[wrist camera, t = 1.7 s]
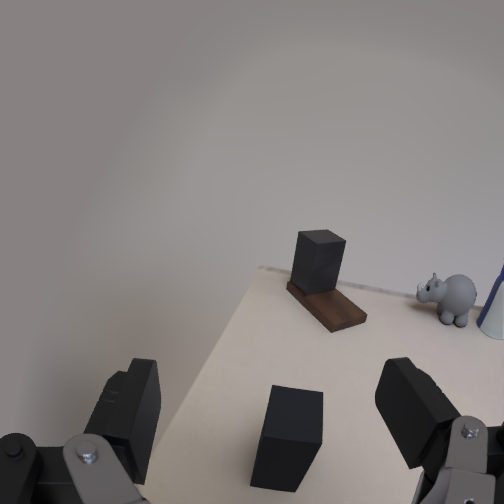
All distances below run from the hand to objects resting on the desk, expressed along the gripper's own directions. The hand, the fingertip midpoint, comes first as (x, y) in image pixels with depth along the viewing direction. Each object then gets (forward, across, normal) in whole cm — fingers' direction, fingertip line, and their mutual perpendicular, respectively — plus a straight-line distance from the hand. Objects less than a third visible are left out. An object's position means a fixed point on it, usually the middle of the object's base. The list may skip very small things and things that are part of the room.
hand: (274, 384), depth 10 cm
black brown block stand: (+37, -14, +15) cm, 43 cm away
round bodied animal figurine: (+34, -36, +16) cm, 52 cm away
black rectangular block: (+9, -3, +18) cm, 21 cm away
